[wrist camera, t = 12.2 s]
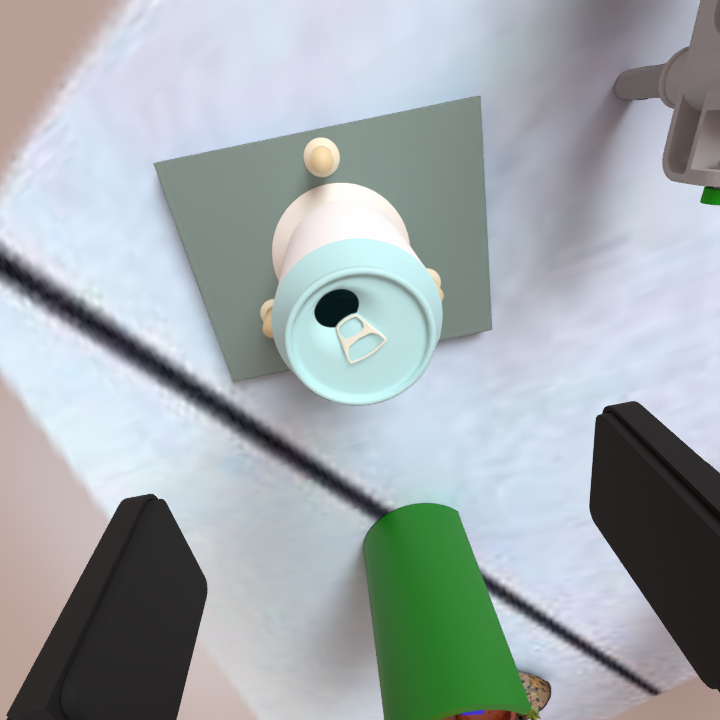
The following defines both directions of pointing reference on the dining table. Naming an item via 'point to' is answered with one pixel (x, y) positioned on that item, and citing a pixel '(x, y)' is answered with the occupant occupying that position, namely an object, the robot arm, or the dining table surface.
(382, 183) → the pin board
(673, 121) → the mechanical component
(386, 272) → the can
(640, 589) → the robot arm
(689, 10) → the dining table surface
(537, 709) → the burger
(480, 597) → the motor
